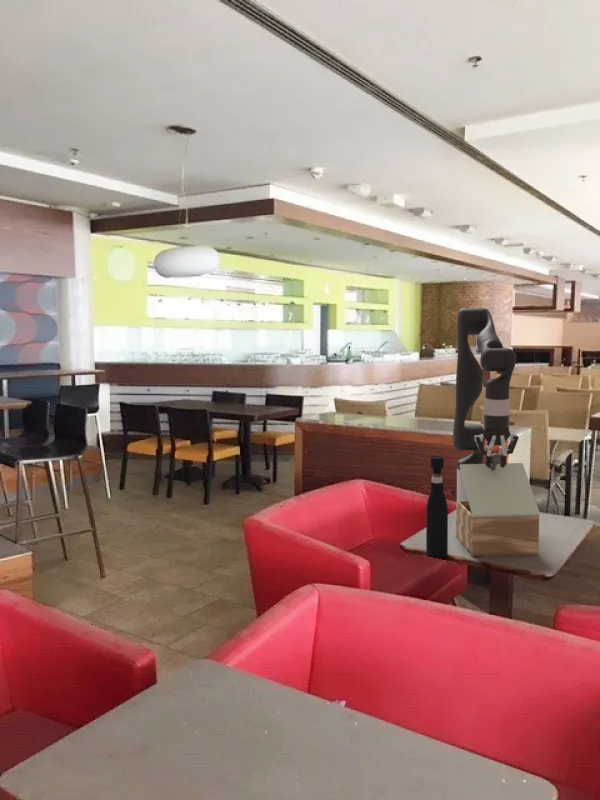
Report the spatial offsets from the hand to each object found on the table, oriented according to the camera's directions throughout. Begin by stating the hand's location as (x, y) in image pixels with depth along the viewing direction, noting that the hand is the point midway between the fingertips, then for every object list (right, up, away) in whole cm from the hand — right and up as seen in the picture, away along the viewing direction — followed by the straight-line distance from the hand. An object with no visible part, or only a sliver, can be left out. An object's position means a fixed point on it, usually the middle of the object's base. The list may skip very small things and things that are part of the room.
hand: (495, 467), depth 216 cm
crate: (+1, -25, +2) cm, 25 cm away
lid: (0, -7, -2) cm, 7 cm away
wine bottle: (-19, -26, -5) cm, 33 cm away
